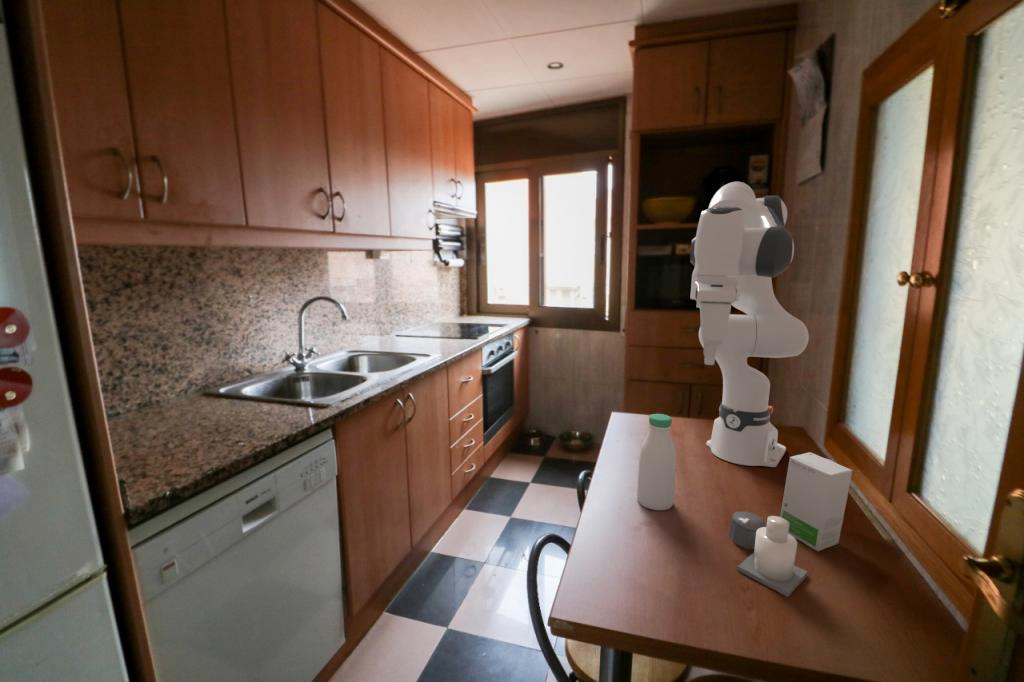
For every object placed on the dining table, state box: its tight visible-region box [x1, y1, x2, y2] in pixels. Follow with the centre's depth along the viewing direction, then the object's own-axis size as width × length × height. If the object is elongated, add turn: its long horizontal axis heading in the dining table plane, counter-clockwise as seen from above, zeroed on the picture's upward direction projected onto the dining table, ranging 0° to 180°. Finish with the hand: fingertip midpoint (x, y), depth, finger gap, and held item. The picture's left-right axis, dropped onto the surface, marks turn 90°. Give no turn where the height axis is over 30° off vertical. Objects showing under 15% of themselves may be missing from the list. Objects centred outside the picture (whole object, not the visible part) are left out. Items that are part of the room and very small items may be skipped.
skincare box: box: [779, 451, 853, 552], centre depth 86 cm, size 8×7×16 cm
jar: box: [737, 515, 808, 598], centre depth 76 cm, size 8×8×10 cm
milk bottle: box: [636, 413, 677, 511], centre depth 98 cm, size 8×8×20 cm
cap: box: [728, 511, 766, 550], centre depth 86 cm, size 6×6×5 cm
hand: (708, 360), depth 90 cm, fingers open, 8 cm apart
